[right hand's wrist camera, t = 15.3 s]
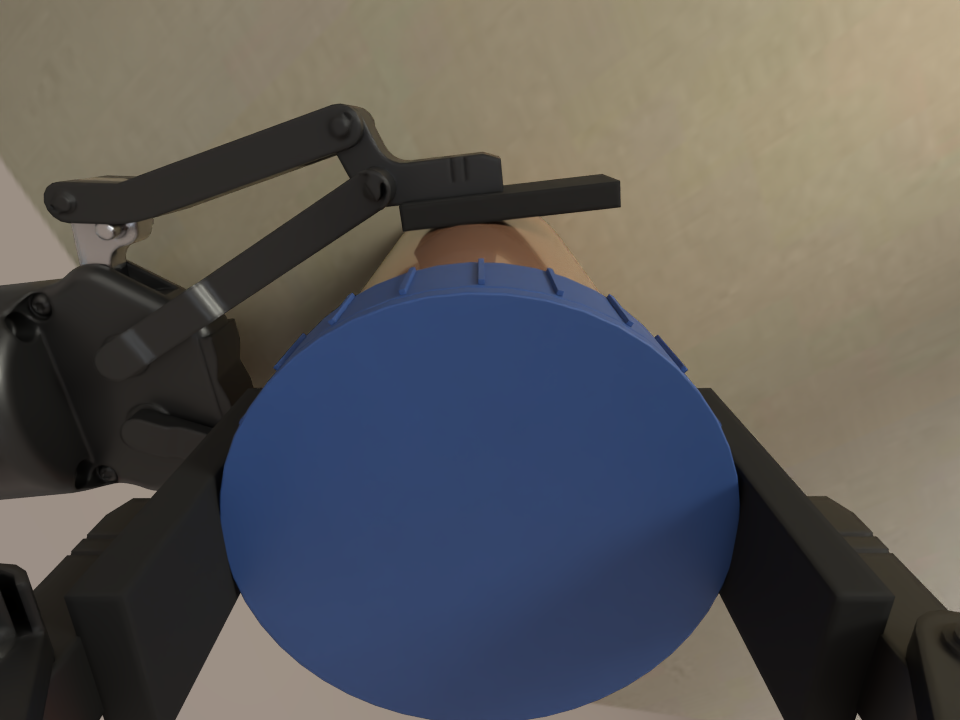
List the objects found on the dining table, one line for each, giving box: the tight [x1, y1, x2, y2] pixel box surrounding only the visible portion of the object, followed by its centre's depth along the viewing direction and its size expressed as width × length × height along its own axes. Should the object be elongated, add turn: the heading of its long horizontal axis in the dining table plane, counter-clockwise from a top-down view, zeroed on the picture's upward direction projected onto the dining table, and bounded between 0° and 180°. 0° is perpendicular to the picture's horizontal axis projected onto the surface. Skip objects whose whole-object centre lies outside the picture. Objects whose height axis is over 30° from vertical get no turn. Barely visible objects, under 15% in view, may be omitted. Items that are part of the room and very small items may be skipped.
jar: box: [359, 217, 601, 294], centre depth 19 cm, size 9×9×16 cm
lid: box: [220, 258, 740, 720], centre depth 12 cm, size 9×9×2 cm
